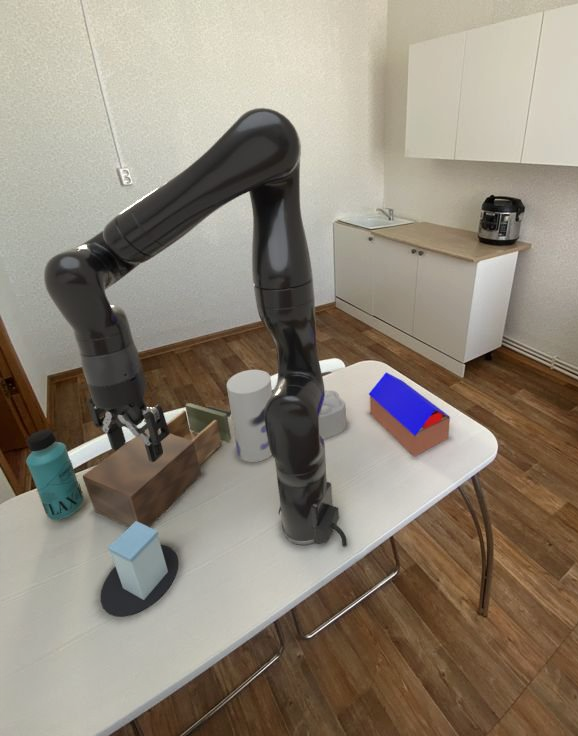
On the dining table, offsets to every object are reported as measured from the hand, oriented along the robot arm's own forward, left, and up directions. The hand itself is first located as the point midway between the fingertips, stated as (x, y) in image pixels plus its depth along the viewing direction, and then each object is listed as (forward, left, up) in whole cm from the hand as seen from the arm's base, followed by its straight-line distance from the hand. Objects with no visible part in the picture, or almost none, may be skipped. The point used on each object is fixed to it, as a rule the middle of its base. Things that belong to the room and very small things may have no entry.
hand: (137, 452), depth 66 cm
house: (-35, -49, -22) cm, 64 cm away
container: (-2, -28, -22) cm, 35 cm away
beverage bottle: (+24, +2, -22) cm, 33 cm away
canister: (-3, +6, -22) cm, 23 cm away
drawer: (+12, -22, -21) cm, 33 cm away
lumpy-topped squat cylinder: (-13, -41, -22) cm, 48 cm away
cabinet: (+12, -8, -22) cm, 26 cm away
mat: (-2, +6, -22) cm, 23 cm away
